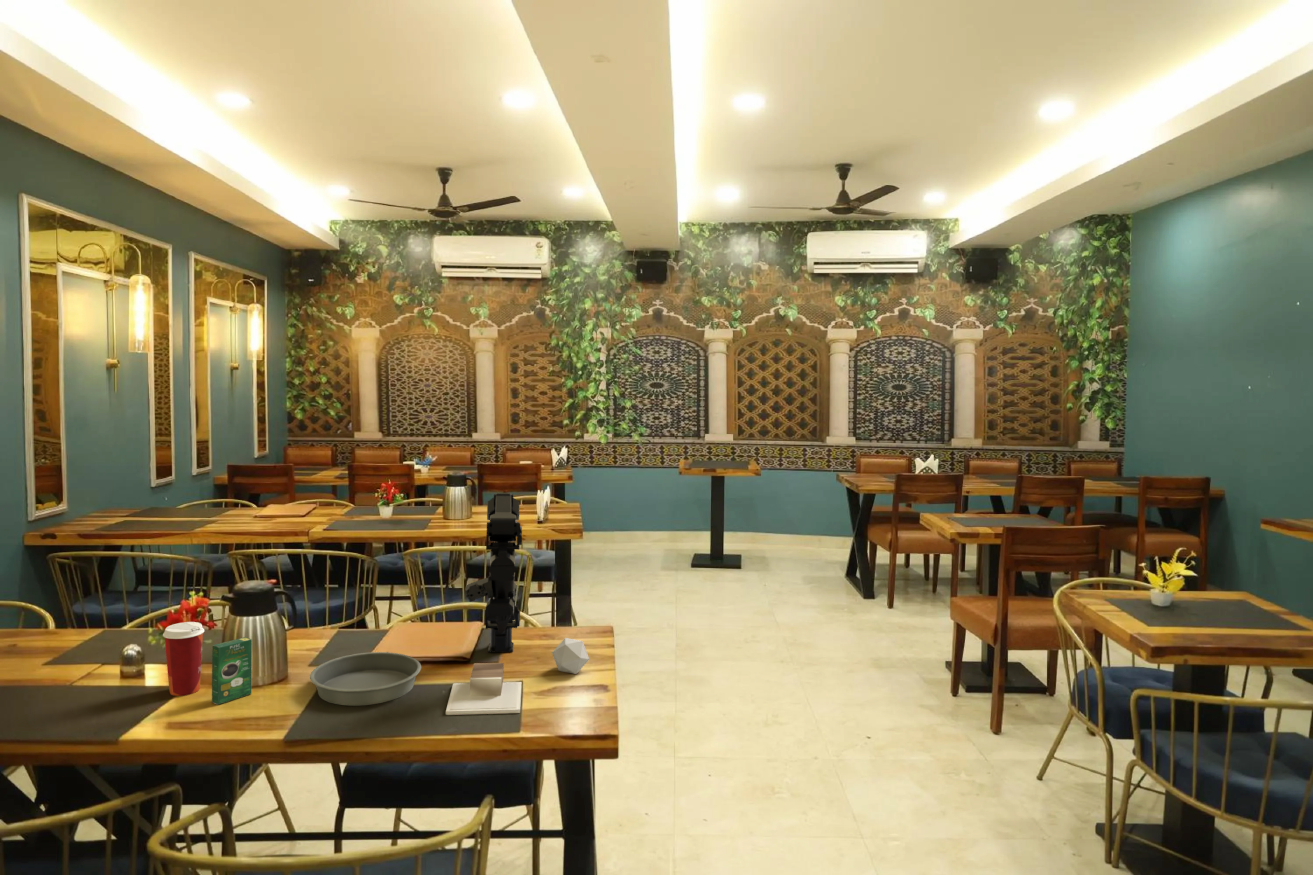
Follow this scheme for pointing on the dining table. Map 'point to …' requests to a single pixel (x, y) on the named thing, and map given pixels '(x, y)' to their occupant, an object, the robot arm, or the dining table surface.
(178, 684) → the coffee cup
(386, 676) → the cake pan
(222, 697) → the coffee box
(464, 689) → the shallow cream tray
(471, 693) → the walnut block
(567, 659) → the die
